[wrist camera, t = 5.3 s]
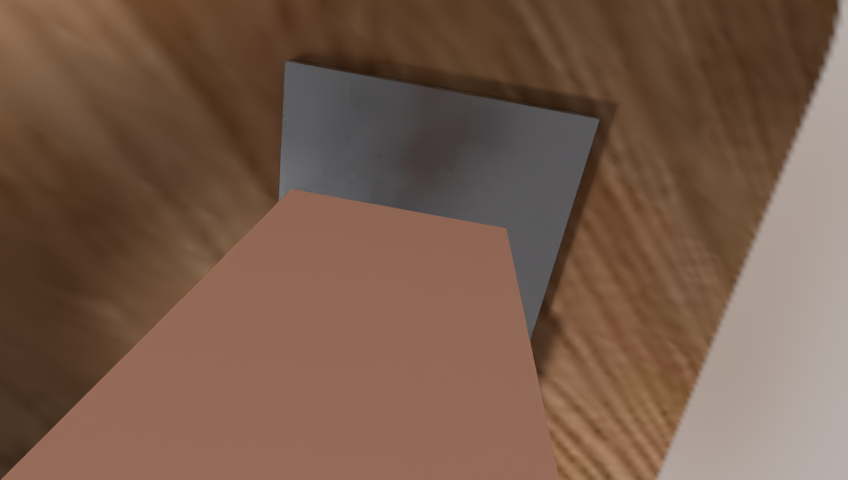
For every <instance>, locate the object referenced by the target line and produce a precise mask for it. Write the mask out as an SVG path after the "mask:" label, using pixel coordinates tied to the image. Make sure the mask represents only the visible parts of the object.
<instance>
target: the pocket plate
mask: <svg viewBox="0 0 848 480" xmlns="http://www.w3.org/2000/svg"><path fill="white" fill-rule="evenodd" d="M599 120H600V119H599V118H598V117H596V116H594V115H588V114H583V113H578V112H572V111H567V110H561V109H556V108H551V107H545V106H540V105H534V104H529V103H524V102H518V101H513V100H507V99H502V98H497V97H491V96H486V95H480V94H475V93H470V92H464V91H459V90H453V89H448V88H443V87H437V86H432V85H426V84H421V83H416V82H410V81H405V80H399V79H394V78H389V77H383V76H378V75H372V74H367V73H362V72H356V71H351V70H345V69H340V68H335V67H329V66H324V65H318V64H313V63H308V62H302V61H297V60H287V61H285V75H284V97H283V119H282V141H281V162H280V184H279V201H280V200H281V199H282V198H283V197H284V196H285V195H286V194H287V193H288V192H289V191H290V190H291V189H294V190H299V191H305V192H310V193H316V194H321V195H327V196H332V197H338V198H343V199H349V200H354V201H360V202H365V203H371V204H376V205H382V206H387V207H392V208H398V209H403V210H409V211H414V212H420V213H425V214H431V215H436V216H442V217H447V218H453V219H458V220H464V221H469V222H475V223H480V224H486V225H491V226H497V227H502V228H506V229H507V234H508V239H509V244H510V248H511V253H512V258H513V263H514V267H515V272H516V277H517V282H518V286H519V291H520V296H521V301H522V305H523V310H524V315H525V320H526V324H527V329H528V334H529V339H530V340H531V337H532V333H533V330H534V327H535V324H536V321H537V317H538V314H539V311H540V308H541V305H542V302H543V298H544V295H545V292H546V289H547V286H548V282H549V279H550V276H551V273H552V270H553V267H554V263H555V260H556V257H557V254H558V251H559V247H560V244H561V241H562V238H563V235H564V232H565V228H566V225H567V222H568V219H569V216H570V212H571V209H572V206H573V203H574V200H575V197H576V193H577V190H578V187H579V184H580V181H581V177H582V174H583V171H584V168H585V165H586V162H587V158H588V155H589V152H590V149H591V146H592V142H593V139H594V136H595V133H596V130H597V127H598V123H599Z"/></svg>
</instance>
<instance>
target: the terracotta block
mask: <svg viewBox="0 0 848 480" xmlns="http://www.w3.org/2000/svg"><path fill="white" fill-rule="evenodd" d="M1 480H559V477H558V472H557V467H556V462H555V458H554V453H553V448H552V443H551V439H550V434H549V429H548V424H547V420H546V415H545V410H544V405H543V401H542V396H541V391H540V386H539V382H538V377H537V372H536V367H535V362H534V358H533V353H532V348H531V343H530V339H529V334H528V329H527V324H526V320H525V315H524V310H523V305H522V301H521V296H520V291H519V286H518V282H517V277H516V272H515V267H514V263H513V258H512V253H511V248H510V244H509V239H508V234H507V229H506V228H502V227H497V226H491V225H486V224H480V223H475V222H469V221H464V220H458V219H453V218H447V217H442V216H436V215H431V214H425V213H420V212H414V211H409V210H403V209H398V208H392V207H387V206H382V205H376V204H371V203H365V202H360V201H354V200H349V199H343V198H338V197H332V196H327V195H321V194H316V193H310V192H305V191H299V190H294V189H291V190H290V191H289V192H288V193H287V194H286V195H285V196H284V197H283V198H282V199H281V200H280V201H279V202H278V203H277V204H276V205H275V206H274V207H273V208H272V209H271V210H270V211H269V212H268V213H267V214H266V215H265V216H264V217H263V218H262V219H261V220H260V221H259V222H258V223H257V224H256V225H255V226H254V227H253V228H252V229H251V230H250V231H249V232H248V233H247V234H246V235H245V236H244V237H243V238H242V239H241V240H240V241H239V242H238V243H237V244H236V245H235V246H234V247H233V248H232V249H231V250H230V251H229V252H228V253H227V254H226V255H225V256H224V257H223V258H222V259H221V260H220V261H219V262H218V263H217V264H216V265H215V266H214V267H213V268H212V269H211V270H210V271H209V272H208V273H207V274H206V275H205V276H204V277H203V278H202V279H201V280H200V281H199V282H198V283H197V284H196V285H195V286H194V287H193V288H192V289H191V290H190V291H189V292H188V293H187V294H186V295H185V296H184V297H183V298H182V299H181V300H180V301H179V302H178V303H177V304H176V305H175V306H174V307H173V308H172V309H171V310H170V311H169V312H168V313H167V314H166V315H165V316H164V317H163V318H162V319H161V320H160V321H159V322H158V323H157V324H156V325H155V326H154V327H153V328H152V329H151V330H150V331H149V332H148V333H147V334H146V335H145V336H144V337H143V338H142V339H141V340H140V341H139V342H138V343H137V344H136V345H135V346H134V347H133V348H132V349H131V350H130V351H129V352H128V353H127V354H126V355H125V356H124V357H123V358H122V359H121V360H120V361H119V362H118V363H117V364H116V365H115V366H114V367H113V368H112V369H111V370H110V371H109V372H108V373H107V374H106V375H105V376H104V377H103V378H102V379H101V380H100V381H99V382H98V383H97V384H96V385H95V386H94V387H93V388H92V389H91V390H90V391H89V392H88V393H87V394H86V395H85V396H84V397H83V398H82V399H81V400H80V401H79V402H78V403H77V404H76V405H75V406H74V407H73V408H72V409H71V410H70V411H69V412H68V413H67V414H66V415H65V416H64V417H63V418H62V419H61V420H60V421H59V422H58V423H57V424H56V425H55V426H54V427H53V428H52V429H51V430H50V431H49V432H48V433H47V434H46V435H45V436H44V437H43V438H42V439H41V440H40V441H39V442H38V443H37V444H36V445H35V446H34V447H33V448H32V449H31V450H30V451H29V452H28V453H27V454H26V455H25V456H24V457H23V458H22V459H21V460H20V461H19V462H18V463H17V464H16V465H15V466H14V467H13V468H12V469H11V470H10V471H9V472H8V473H7V474H6V475H5V476H4V477H3V478H2V479H1Z"/></svg>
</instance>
